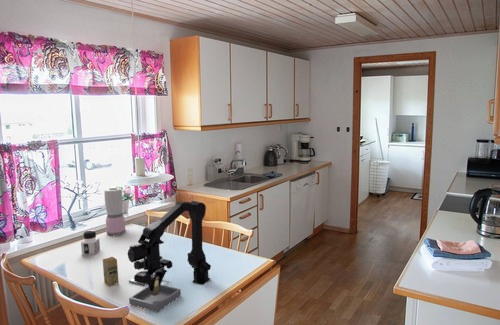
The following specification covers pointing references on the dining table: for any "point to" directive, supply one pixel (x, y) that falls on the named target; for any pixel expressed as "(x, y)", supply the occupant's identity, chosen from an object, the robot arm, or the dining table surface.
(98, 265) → the dining table surface
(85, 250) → the container
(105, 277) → the shoe polish box
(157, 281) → the gold cylinder with rim
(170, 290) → the tray
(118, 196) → the blender
